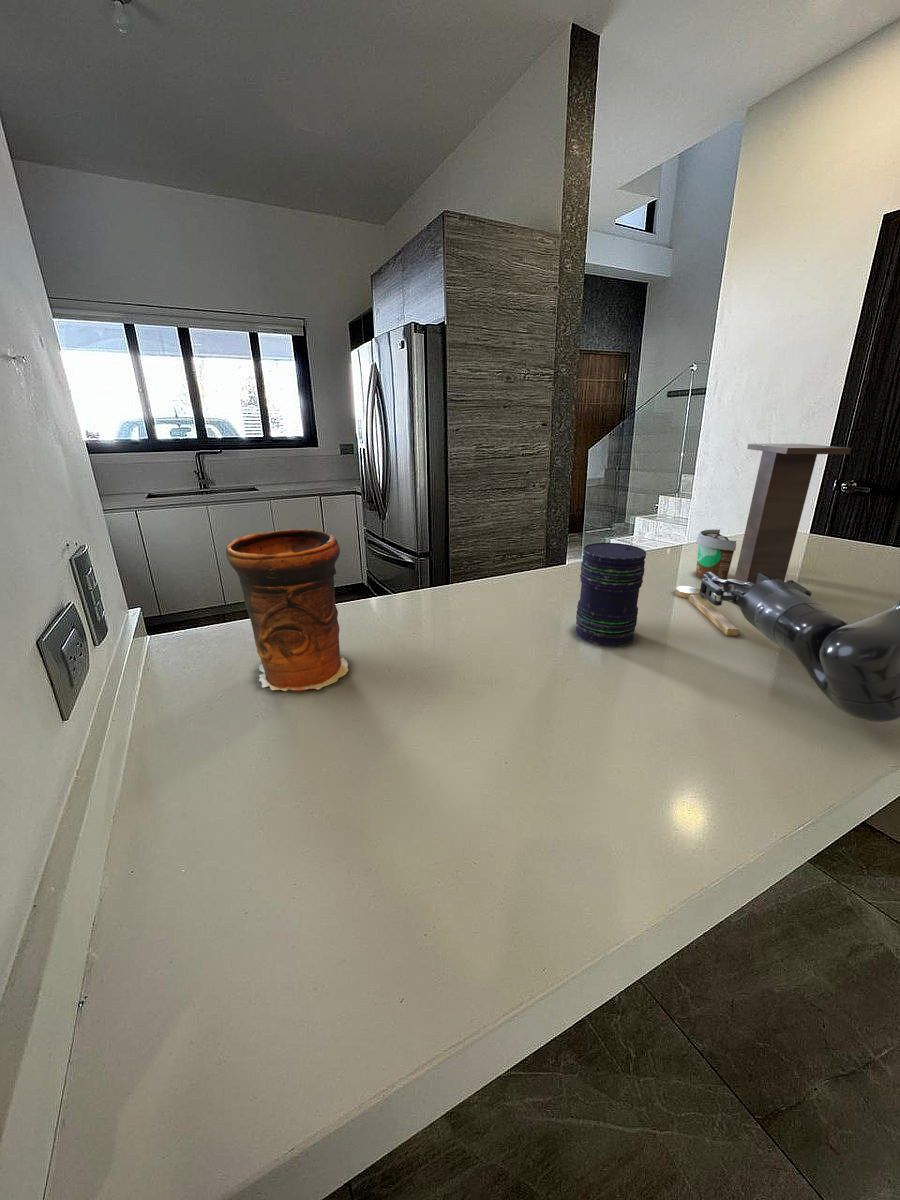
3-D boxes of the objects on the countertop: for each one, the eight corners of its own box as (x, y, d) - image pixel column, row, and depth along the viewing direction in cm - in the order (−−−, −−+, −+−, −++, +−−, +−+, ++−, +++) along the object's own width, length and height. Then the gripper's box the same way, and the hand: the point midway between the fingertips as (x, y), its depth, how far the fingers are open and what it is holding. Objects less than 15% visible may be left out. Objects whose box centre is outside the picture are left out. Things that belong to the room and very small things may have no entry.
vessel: (237, 702, 63) (209, 556, 56) (260, 653, 76) (239, 529, 69) (348, 693, 65) (335, 550, 58) (352, 646, 78) (341, 525, 71)
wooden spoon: (746, 636, 82) (748, 629, 81) (717, 635, 82) (718, 628, 81) (695, 591, 102) (696, 586, 102) (672, 590, 103) (673, 585, 102)
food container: (684, 568, 118) (691, 528, 115) (711, 569, 117) (719, 529, 113) (697, 583, 107) (706, 540, 103) (727, 585, 106) (737, 541, 102)
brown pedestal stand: (804, 614, 90) (851, 448, 80) (748, 612, 91) (787, 447, 81) (766, 589, 103) (802, 443, 93) (717, 587, 104) (748, 443, 94)
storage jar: (600, 651, 76) (611, 561, 71) (562, 628, 85) (570, 546, 79) (647, 640, 80) (661, 554, 75) (607, 619, 88) (616, 540, 83)
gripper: (725, 636, 69) (686, 596, 84) (830, 640, 68) (771, 599, 83) (736, 588, 67) (693, 555, 82) (846, 590, 65) (782, 557, 80)
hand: (732, 577), depth 82 cm, fingers open, 8 cm apart
